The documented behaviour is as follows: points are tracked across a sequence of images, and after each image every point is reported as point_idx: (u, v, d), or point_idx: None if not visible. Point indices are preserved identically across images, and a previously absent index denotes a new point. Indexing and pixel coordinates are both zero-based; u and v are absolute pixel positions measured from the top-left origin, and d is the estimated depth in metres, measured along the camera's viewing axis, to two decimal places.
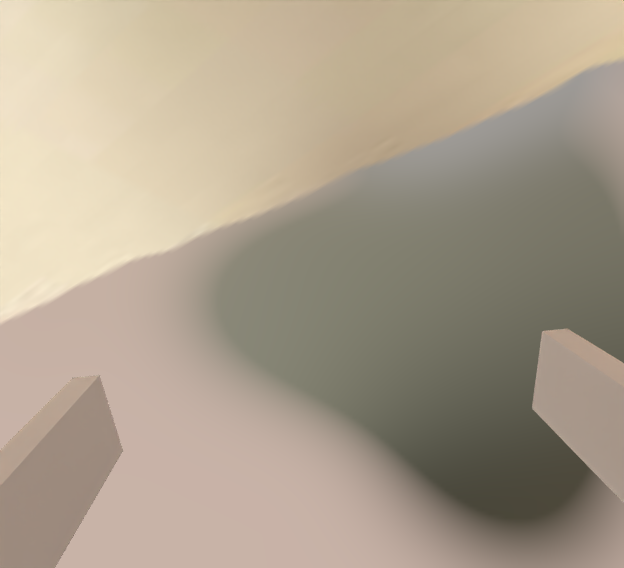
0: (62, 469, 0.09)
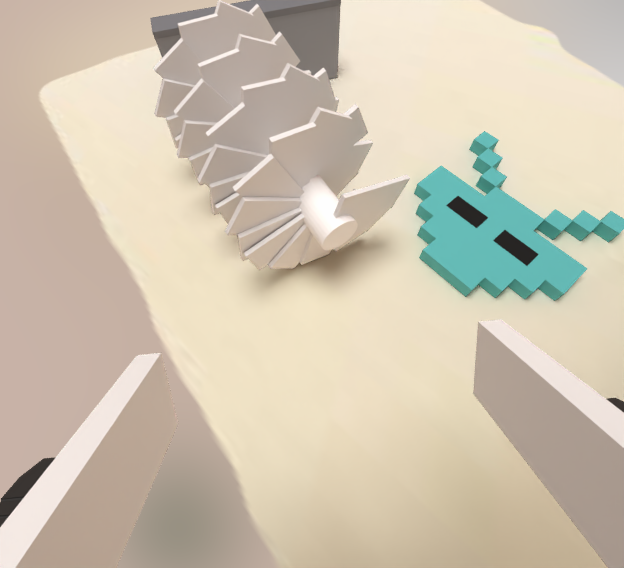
0: (139, 433, 0.10)
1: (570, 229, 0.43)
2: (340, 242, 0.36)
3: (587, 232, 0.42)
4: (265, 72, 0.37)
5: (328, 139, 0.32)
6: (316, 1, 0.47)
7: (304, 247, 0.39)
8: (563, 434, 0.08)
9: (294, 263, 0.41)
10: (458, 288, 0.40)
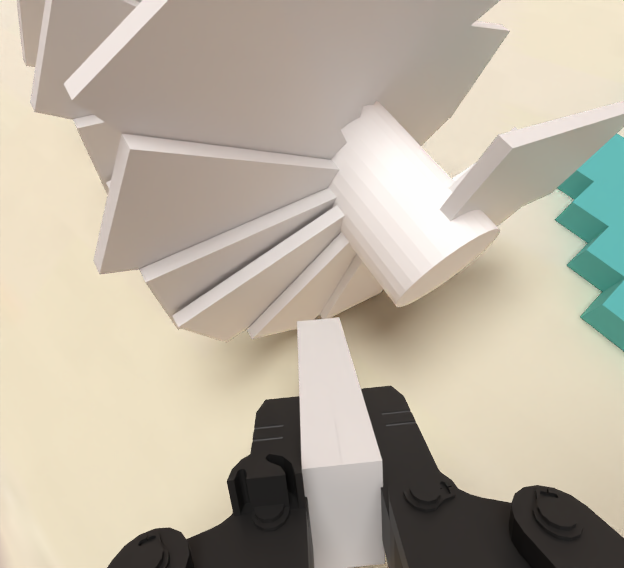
0: None
1: None
2: (436, 285, 0.13)
3: None
4: None
5: None
6: None
7: (334, 287, 0.16)
8: None
9: (308, 319, 0.18)
10: None
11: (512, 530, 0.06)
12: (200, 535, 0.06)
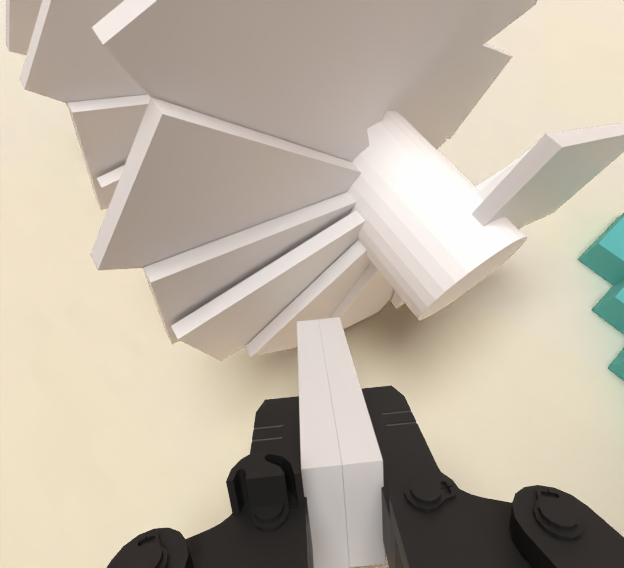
0: None
1: None
2: (454, 298, 0.13)
3: None
4: None
5: None
6: None
7: (339, 302, 0.15)
8: None
9: None
10: None
11: (513, 530, 0.06)
12: (199, 535, 0.06)
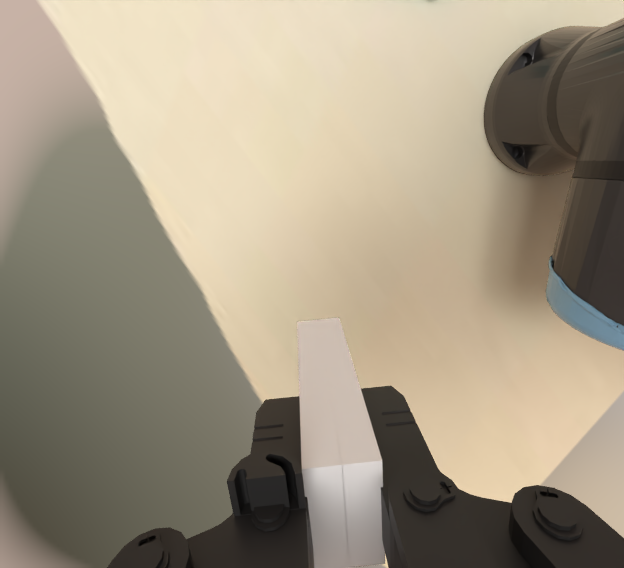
0: None
1: None
2: None
3: None
4: None
5: None
6: None
7: None
8: None
9: None
10: None
11: (512, 530, 0.06)
12: (200, 535, 0.06)
